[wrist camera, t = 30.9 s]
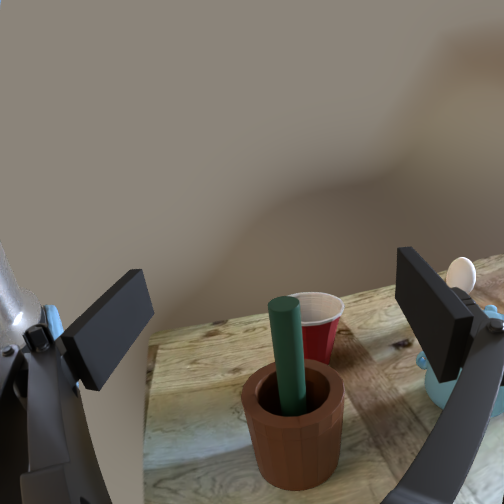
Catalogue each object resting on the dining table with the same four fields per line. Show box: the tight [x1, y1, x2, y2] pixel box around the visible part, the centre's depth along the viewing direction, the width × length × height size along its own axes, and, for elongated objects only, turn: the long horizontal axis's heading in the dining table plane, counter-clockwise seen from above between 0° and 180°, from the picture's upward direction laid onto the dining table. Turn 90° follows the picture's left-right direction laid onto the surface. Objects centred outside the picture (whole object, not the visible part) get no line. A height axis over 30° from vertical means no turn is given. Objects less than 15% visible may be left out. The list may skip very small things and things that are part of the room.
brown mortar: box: [241, 359, 345, 491], centre depth 31 cm, size 10×10×13 cm
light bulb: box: [446, 257, 476, 294], centre depth 55 cm, size 7×7×11 cm
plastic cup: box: [289, 292, 345, 365], centre depth 48 cm, size 11×11×12 cm
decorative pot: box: [416, 305, 504, 418], centre depth 33 cm, size 16×16×14 cm
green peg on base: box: [268, 296, 307, 417], centre depth 29 cm, size 4×4×22 cm
